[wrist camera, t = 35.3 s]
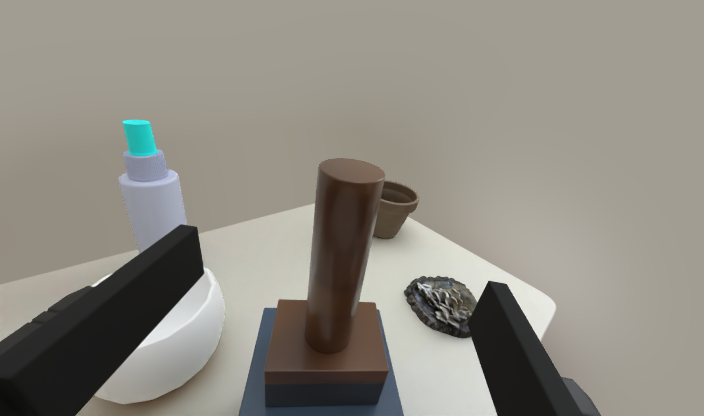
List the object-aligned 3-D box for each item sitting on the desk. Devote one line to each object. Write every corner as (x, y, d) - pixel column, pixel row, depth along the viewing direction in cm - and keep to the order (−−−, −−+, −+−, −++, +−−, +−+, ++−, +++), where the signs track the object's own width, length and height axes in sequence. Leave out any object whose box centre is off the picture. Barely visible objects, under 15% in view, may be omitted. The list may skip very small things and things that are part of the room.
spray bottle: (190, 253, 44) (164, 116, 33) (198, 275, 40) (172, 128, 29) (145, 265, 40) (101, 116, 30) (149, 290, 36) (99, 128, 26)
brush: (367, 334, 21) (411, 159, 14) (377, 405, 17) (448, 200, 10) (278, 333, 20) (280, 144, 13) (264, 407, 16) (257, 183, 9)
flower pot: (418, 238, 58) (431, 197, 53) (381, 252, 51) (392, 208, 46) (383, 214, 65) (392, 176, 61) (347, 224, 59) (353, 183, 54)
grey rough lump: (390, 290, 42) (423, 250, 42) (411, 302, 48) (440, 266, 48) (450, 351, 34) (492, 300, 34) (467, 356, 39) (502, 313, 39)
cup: (243, 316, 34) (239, 259, 30) (199, 430, 24) (181, 367, 19) (144, 310, 33) (124, 249, 29) (48, 427, 22) (-7, 359, 18)
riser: (359, 384, 29) (379, 309, 24) (375, 520, 20) (412, 452, 15) (266, 386, 28) (264, 307, 22) (240, 535, 19) (226, 466, 13)
